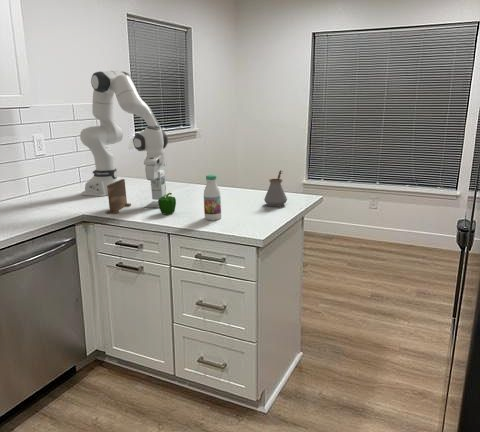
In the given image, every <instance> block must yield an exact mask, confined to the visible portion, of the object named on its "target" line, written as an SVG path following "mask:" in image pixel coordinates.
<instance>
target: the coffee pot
mask: <svg viewBox="0 0 480 432" xmlns="http://www.w3.org/2000/svg"><path fill="white" fill-rule="evenodd" d="M283 173H284V172H283V170H279V171H278V175H277V178H269V180H268V181H269V183H270V184H269V187H268V190H267V192H266V194H265V197H264V199H263V200H264V202H265V203H266V205H268V206H269V207H274V208H275V207H276V208H278V207H282V206H284V204H286V203H287V201H288V198H287V195H286V194H285V193H286V192H285V191H284V188H283V185H282V184H281V183H282V182H283V179H281V174H283Z"/></svg>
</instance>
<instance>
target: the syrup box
mask: <svg viewBox="0 0 480 432" xmlns="http://www.w3.org/2000/svg"><path fill="white" fill-rule="evenodd" d="M158 174H159V178H157V181H156V182H157V183H158V187H153V183H152V180H149V181H150V189H151V200H154V201H158V200H159V198H161V197H166V195H167V188H166V174H165V175H164V170H161V171H159V172H158Z"/></svg>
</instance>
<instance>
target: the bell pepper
mask: <svg viewBox="0 0 480 432" xmlns="http://www.w3.org/2000/svg"><path fill="white" fill-rule="evenodd" d="M172 194H173V193H172V192H168V193H166V197H161V198H159V200H157V201H158V204H159V208H158V209H159V210H160V213H161V214H164V215H166V216H167V215H172V214H173V213H175V211H176V205H177V202H176V201H177V199H176V196H171V195H172Z"/></svg>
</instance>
